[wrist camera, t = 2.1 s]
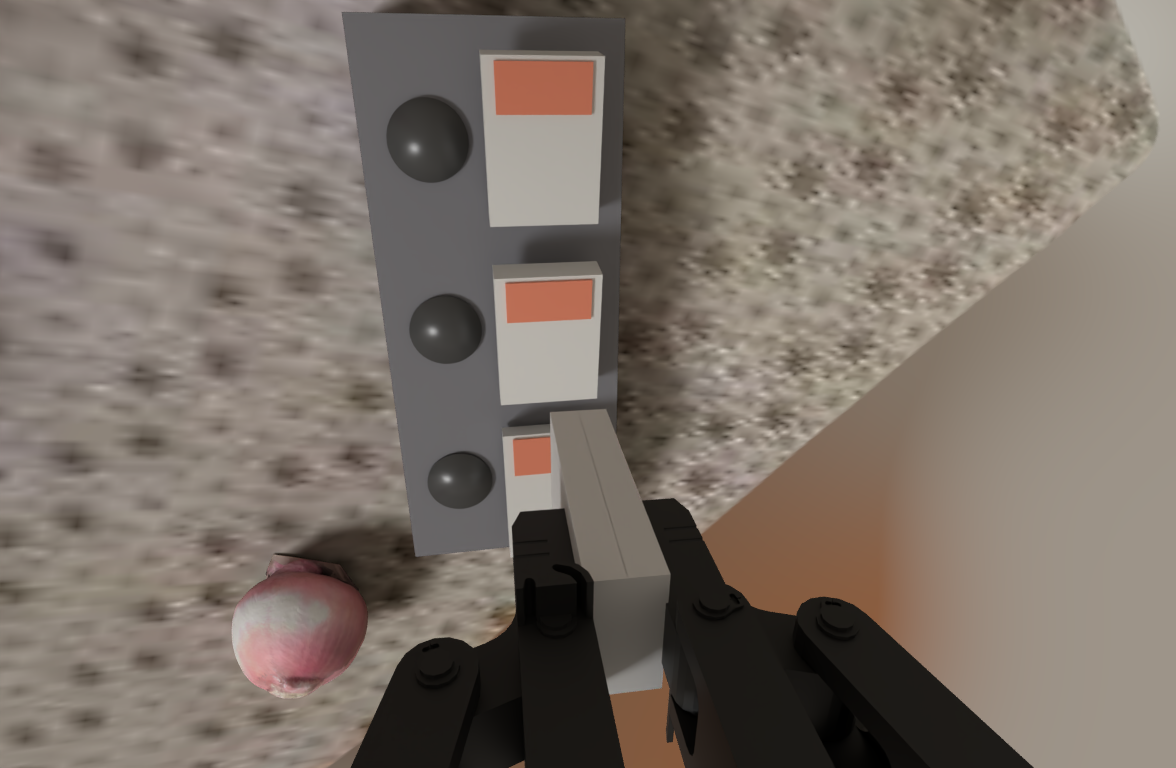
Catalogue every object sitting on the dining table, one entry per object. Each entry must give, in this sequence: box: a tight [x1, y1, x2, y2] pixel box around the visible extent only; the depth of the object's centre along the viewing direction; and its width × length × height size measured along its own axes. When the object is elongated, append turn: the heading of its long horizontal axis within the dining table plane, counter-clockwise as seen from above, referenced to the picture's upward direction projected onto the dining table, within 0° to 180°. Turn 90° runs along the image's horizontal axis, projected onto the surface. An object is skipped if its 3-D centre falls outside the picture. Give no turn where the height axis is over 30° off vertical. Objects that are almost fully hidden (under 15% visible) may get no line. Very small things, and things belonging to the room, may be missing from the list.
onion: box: [232, 554, 368, 699], centre depth 39 cm, size 8×8×7 cm
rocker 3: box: [502, 424, 553, 557], centre depth 35 cm, size 5×7×2 cm
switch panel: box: [342, 12, 625, 557], centre depth 34 cm, size 12×28×4 cm, turn 0°
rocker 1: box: [479, 50, 605, 227], centre depth 28 cm, size 5×7×2 cm
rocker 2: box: [492, 261, 603, 405], centre depth 31 cm, size 5×7×2 cm
